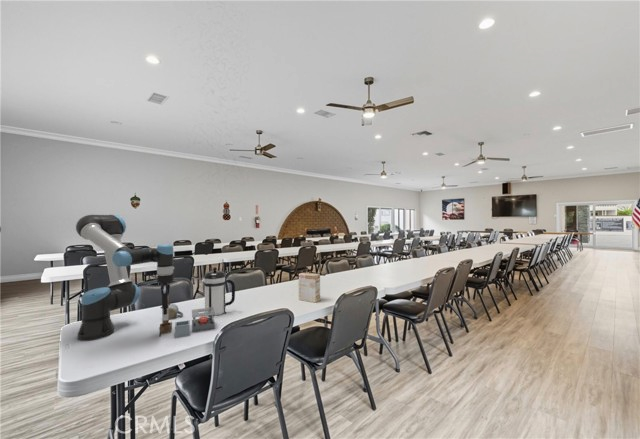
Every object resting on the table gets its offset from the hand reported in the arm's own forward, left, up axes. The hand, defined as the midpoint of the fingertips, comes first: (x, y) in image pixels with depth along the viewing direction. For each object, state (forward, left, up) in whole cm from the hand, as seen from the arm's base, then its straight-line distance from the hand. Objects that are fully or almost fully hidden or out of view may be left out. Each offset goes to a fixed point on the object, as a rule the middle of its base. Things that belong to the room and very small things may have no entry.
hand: (165, 319), depth 150 cm
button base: (+18, -2, -8) cm, 20 cm away
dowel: (0, 0, -8) cm, 8 cm away
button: (+18, -2, -6) cm, 19 cm away
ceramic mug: (+2, +28, -8) cm, 29 cm away
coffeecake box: (+92, +25, -8) cm, 96 cm away
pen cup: (+8, -8, -8) cm, 14 cm away
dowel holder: (0, 0, -8) cm, 8 cm away
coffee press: (+27, +21, -8) cm, 35 cm away
